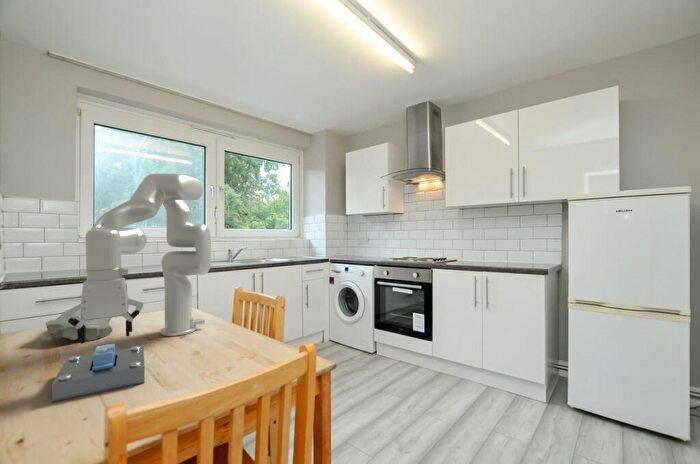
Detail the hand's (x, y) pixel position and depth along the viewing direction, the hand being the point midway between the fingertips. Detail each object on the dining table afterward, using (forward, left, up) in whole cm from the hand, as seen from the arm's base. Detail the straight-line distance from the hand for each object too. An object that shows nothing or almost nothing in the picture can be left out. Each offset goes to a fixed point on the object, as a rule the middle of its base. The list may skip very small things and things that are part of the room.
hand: (106, 338), depth 89 cm
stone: (+11, -52, -11) cm, 54 cm away
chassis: (0, +1, -11) cm, 10 cm away
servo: (0, +1, -10) cm, 10 cm away
